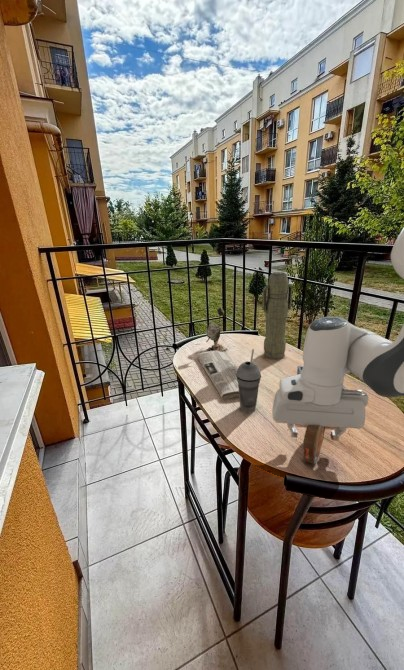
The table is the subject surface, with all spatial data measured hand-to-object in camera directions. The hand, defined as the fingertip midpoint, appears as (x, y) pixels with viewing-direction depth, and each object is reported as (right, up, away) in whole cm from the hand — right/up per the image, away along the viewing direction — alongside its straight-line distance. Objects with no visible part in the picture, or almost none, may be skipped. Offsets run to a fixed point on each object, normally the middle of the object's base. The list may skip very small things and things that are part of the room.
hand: (313, 437), depth 68 cm
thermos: (+4, +16, +53) cm, 55 cm away
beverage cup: (-13, +2, +17) cm, 22 cm away
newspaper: (-19, +10, +39) cm, 44 cm away
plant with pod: (-21, +18, +61) cm, 68 cm away
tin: (0, -3, +1) cm, 4 cm away
